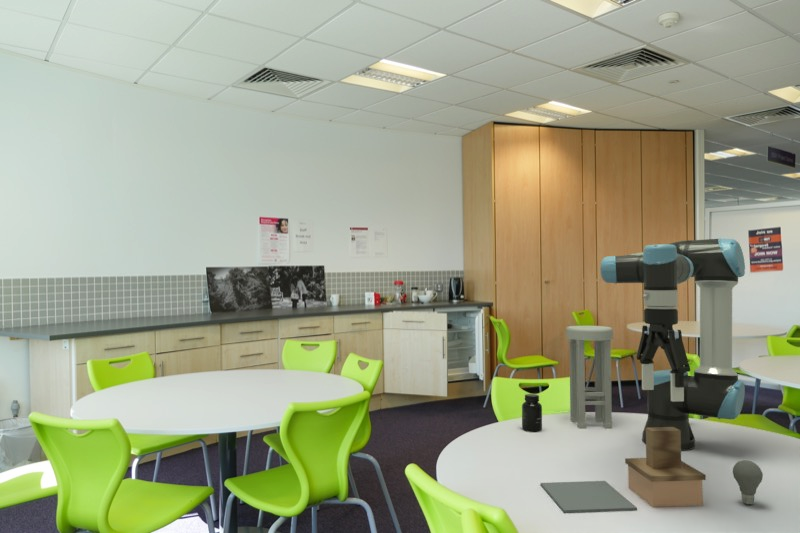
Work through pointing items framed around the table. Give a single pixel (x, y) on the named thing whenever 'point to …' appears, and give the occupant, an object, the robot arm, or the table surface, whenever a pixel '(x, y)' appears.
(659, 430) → the lid
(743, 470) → the light bulb
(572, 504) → the mat
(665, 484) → the open tan tray
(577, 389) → the stool
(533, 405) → the supplement bottle
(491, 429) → the table surface
